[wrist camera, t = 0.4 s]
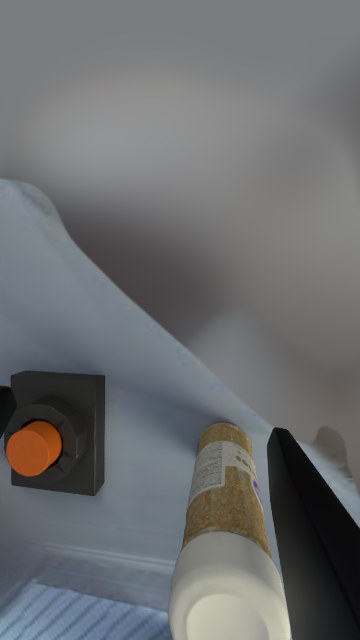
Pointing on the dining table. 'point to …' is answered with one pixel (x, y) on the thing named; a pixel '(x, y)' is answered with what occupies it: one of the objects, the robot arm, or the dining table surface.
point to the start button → (34, 448)
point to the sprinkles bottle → (226, 550)
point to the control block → (63, 427)
